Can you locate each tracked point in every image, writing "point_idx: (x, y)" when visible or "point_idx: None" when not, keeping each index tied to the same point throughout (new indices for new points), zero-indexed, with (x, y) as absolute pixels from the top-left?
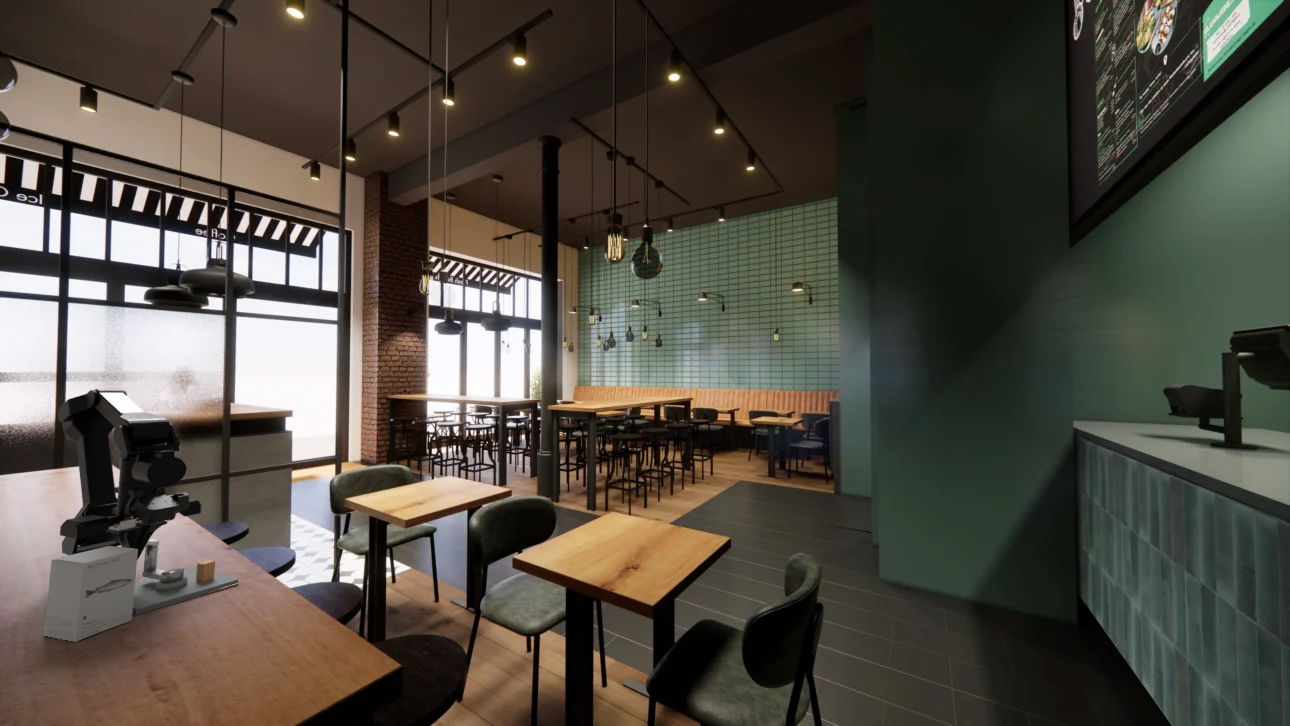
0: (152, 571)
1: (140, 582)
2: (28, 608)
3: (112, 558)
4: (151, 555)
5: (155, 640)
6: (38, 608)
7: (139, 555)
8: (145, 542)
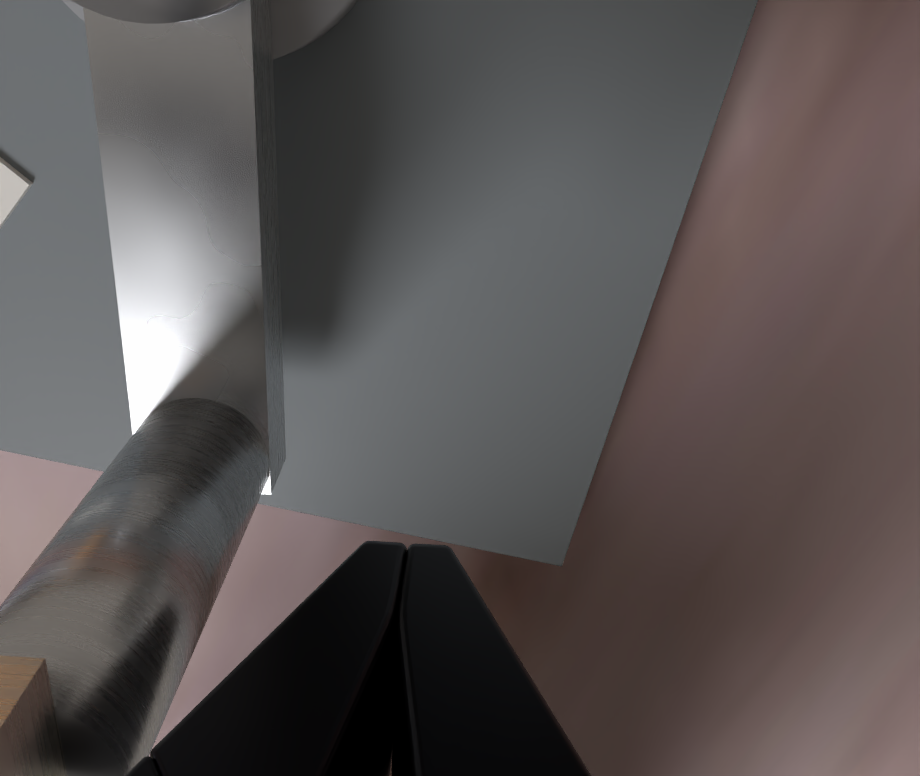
0: (215, 371)
1: (298, 447)
2: (885, 760)
3: None
4: (138, 550)
5: None
6: (878, 699)
7: (346, 575)
8: (198, 760)
